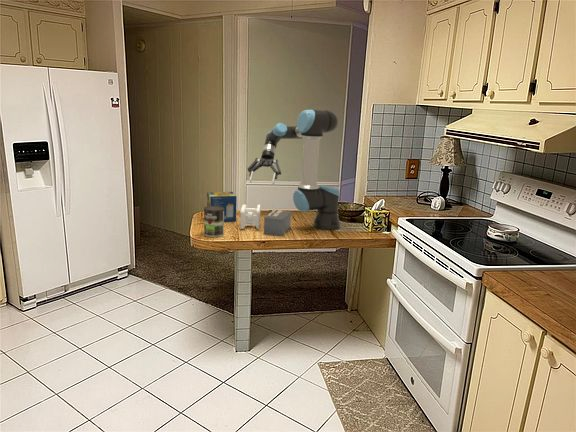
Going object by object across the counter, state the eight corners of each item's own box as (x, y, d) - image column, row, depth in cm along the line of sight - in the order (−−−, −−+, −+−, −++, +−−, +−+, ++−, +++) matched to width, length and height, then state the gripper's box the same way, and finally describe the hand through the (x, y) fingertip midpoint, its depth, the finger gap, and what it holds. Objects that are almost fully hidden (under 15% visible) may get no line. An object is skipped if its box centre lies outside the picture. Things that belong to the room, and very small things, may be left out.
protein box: (206, 218, 258) (206, 192, 254) (232, 216, 264) (232, 191, 260) (210, 223, 249) (209, 196, 245) (236, 221, 254) (237, 195, 250)
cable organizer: (259, 231, 238) (259, 210, 235) (239, 230, 238) (239, 209, 235) (260, 223, 252) (260, 203, 249) (241, 222, 252) (242, 203, 249)
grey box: (290, 227, 248) (291, 210, 245) (282, 236, 231) (282, 218, 228) (273, 225, 250) (273, 208, 248) (263, 233, 233) (264, 216, 231)
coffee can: (218, 238, 223) (218, 211, 219) (200, 235, 226) (200, 209, 222) (227, 232, 233) (227, 206, 229) (209, 230, 235) (209, 204, 232)
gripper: (289, 158, 270) (283, 187, 260) (249, 155, 274) (242, 183, 264) (288, 151, 263) (281, 180, 253) (247, 148, 267) (240, 176, 257)
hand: (261, 182), depth 258 cm, fingers open, 13 cm apart
